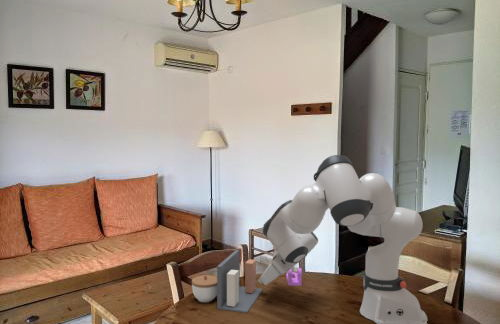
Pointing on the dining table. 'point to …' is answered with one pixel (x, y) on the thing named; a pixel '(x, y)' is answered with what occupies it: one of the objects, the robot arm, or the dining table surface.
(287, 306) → the dining table surface
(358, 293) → the dining table surface
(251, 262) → the salmon pink block
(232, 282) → the white rectangular block
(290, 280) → the bracket
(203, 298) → the lidded jar
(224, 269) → the gray bookend
